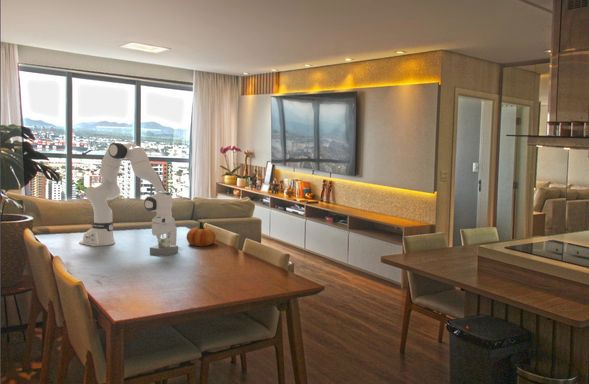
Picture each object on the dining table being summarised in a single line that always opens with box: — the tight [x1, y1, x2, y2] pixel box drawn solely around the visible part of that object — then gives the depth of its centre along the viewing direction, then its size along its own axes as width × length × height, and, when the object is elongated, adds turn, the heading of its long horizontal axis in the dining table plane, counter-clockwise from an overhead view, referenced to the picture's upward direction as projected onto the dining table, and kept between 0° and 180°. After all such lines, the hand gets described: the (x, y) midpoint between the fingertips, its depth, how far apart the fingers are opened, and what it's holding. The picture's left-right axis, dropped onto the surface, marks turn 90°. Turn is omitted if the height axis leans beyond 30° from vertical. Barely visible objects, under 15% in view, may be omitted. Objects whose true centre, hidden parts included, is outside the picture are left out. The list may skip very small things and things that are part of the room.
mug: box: [161, 226, 178, 246], centre depth 326 cm, size 10×7×12 cm, turn 77°
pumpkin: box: [186, 221, 217, 247], centre depth 332 cm, size 19×19×15 cm
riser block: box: [149, 244, 179, 257], centre depth 304 cm, size 12×12×4 cm
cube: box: [157, 236, 170, 248], centre depth 303 cm, size 5×5×5 cm
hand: (164, 240), depth 303 cm, fingers open, 8 cm apart
